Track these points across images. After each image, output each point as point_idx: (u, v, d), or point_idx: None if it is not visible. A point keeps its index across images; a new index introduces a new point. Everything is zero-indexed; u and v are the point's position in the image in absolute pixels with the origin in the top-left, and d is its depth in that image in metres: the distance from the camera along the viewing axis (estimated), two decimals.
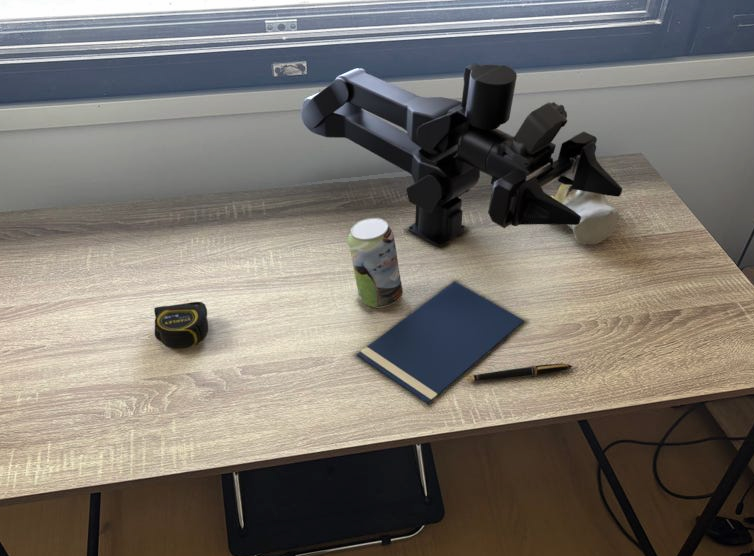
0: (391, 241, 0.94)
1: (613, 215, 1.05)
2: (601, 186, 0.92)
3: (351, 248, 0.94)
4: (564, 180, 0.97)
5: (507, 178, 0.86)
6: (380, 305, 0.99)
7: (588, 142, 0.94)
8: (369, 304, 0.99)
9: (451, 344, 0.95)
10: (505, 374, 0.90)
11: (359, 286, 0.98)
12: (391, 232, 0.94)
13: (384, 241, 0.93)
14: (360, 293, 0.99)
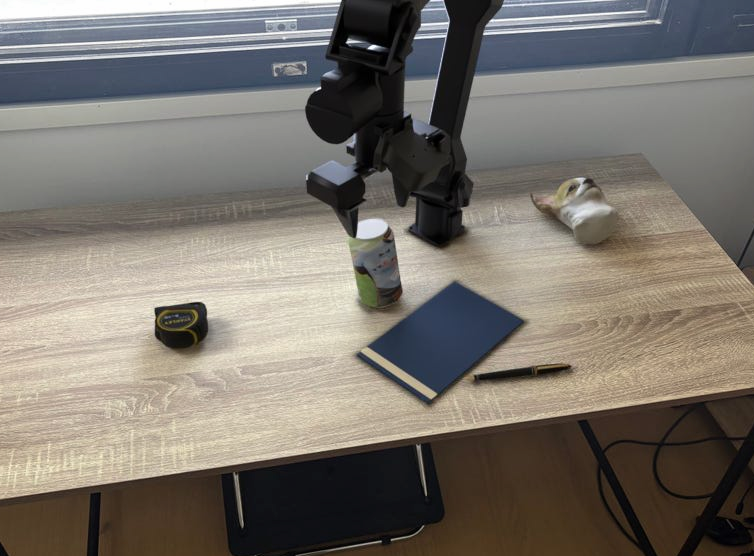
0: (391, 241, 0.94)
1: (613, 215, 1.05)
2: (399, 187, 0.93)
3: (351, 248, 0.94)
4: None
5: (348, 198, 0.81)
6: (380, 305, 0.99)
7: None
8: (369, 304, 0.99)
9: (451, 344, 0.95)
10: (505, 374, 0.90)
11: (359, 286, 0.98)
12: (391, 232, 0.94)
13: (384, 241, 0.93)
14: (360, 293, 0.99)
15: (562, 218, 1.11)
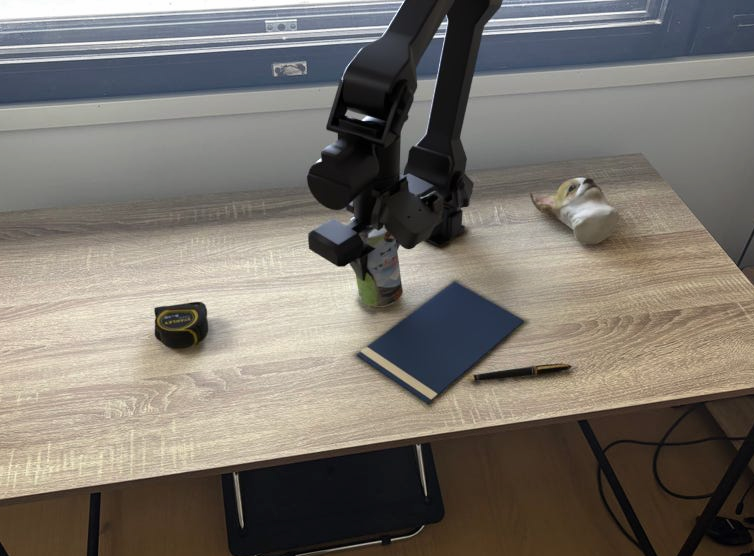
0: (392, 240, 0.94)
1: (613, 215, 1.05)
2: None
3: None
4: None
5: (347, 255, 0.86)
6: (380, 304, 0.99)
7: None
8: (369, 303, 0.99)
9: (451, 344, 0.95)
10: (505, 374, 0.90)
11: (359, 285, 0.98)
12: None
13: (385, 239, 0.93)
14: (360, 292, 0.99)
15: (562, 218, 1.11)
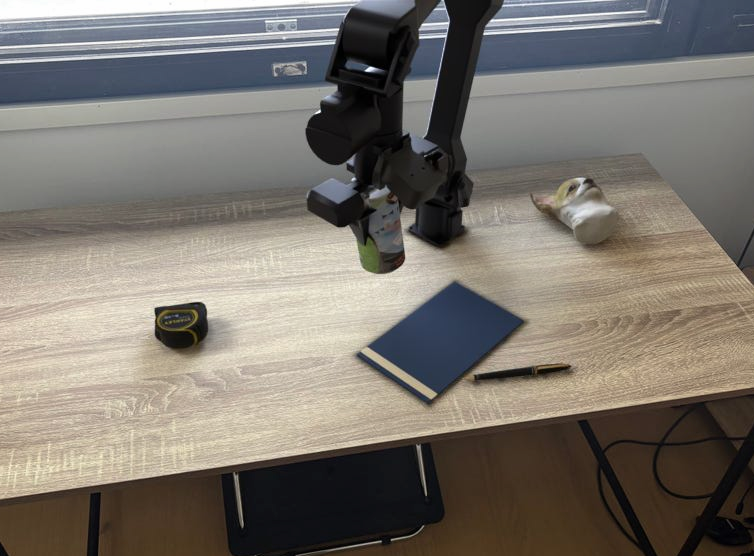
0: (394, 202, 0.90)
1: (613, 215, 1.05)
2: None
3: None
4: None
5: (347, 215, 0.82)
6: (382, 271, 0.95)
7: None
8: (371, 270, 0.95)
9: (451, 344, 0.95)
10: (505, 374, 0.90)
11: (361, 251, 0.94)
12: None
13: (387, 201, 0.89)
14: (361, 259, 0.95)
15: (562, 218, 1.11)
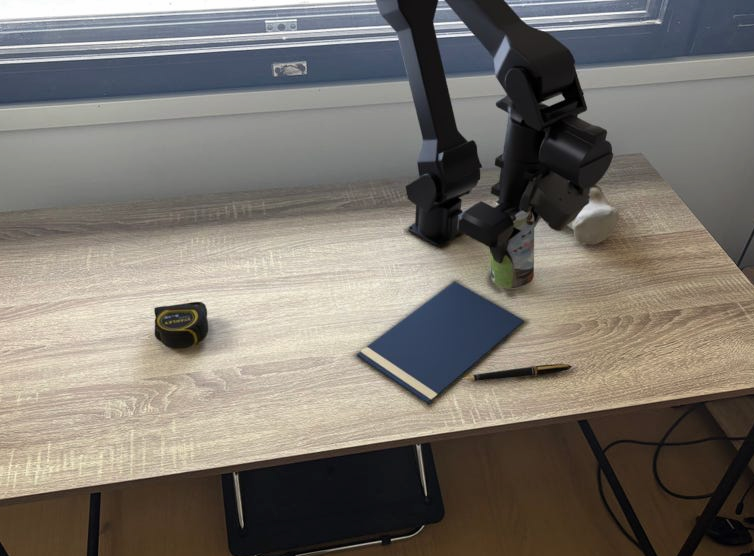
0: (533, 223, 0.96)
1: (613, 215, 1.05)
2: None
3: None
4: None
5: (500, 236, 0.89)
6: (514, 286, 1.01)
7: None
8: (503, 285, 1.02)
9: (451, 344, 0.95)
10: (505, 374, 0.90)
11: (495, 267, 1.01)
12: (532, 214, 0.97)
13: (527, 222, 0.95)
14: (494, 275, 1.02)
15: None
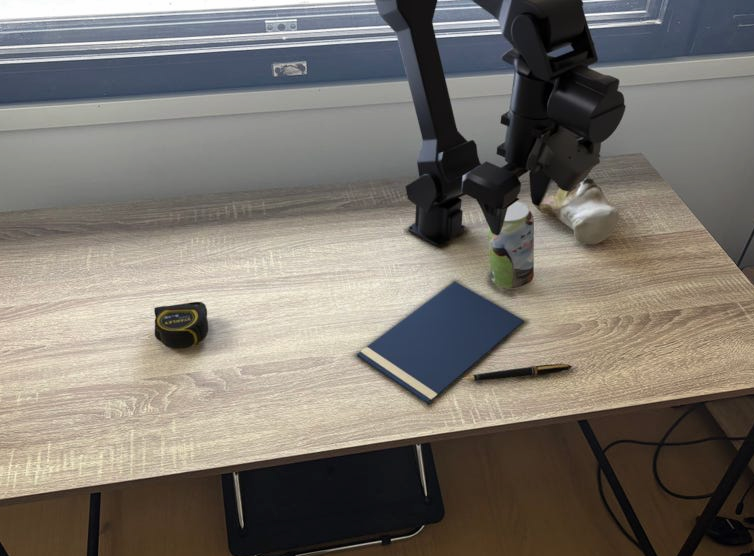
0: (532, 223, 0.96)
1: (613, 215, 1.05)
2: (536, 186, 0.97)
3: None
4: None
5: (506, 197, 0.85)
6: (514, 286, 1.01)
7: None
8: (503, 285, 1.02)
9: (451, 344, 0.95)
10: (505, 374, 0.90)
11: (494, 268, 1.01)
12: (531, 214, 0.97)
13: (526, 222, 0.95)
14: (494, 275, 1.02)
15: (562, 218, 1.11)
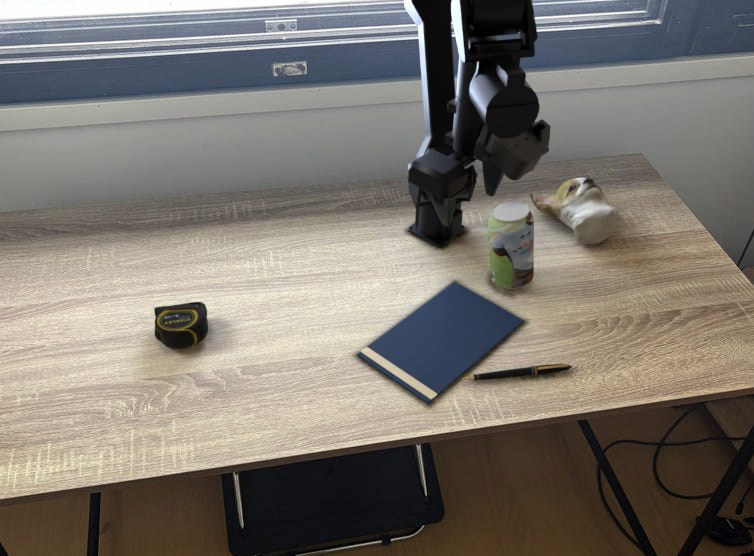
0: (532, 223, 0.96)
1: (613, 215, 1.05)
2: (489, 176, 0.95)
3: (492, 230, 0.97)
4: None
5: (452, 186, 0.82)
6: (514, 286, 1.01)
7: None
8: (503, 285, 1.02)
9: (451, 344, 0.95)
10: (505, 374, 0.90)
11: (494, 268, 1.01)
12: (531, 214, 0.97)
13: (526, 222, 0.95)
14: (494, 275, 1.02)
15: (562, 218, 1.11)
